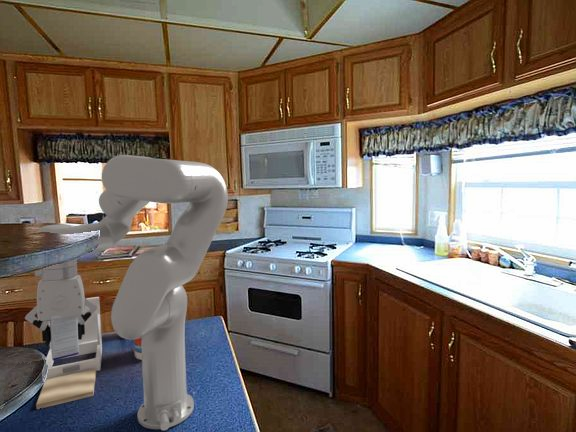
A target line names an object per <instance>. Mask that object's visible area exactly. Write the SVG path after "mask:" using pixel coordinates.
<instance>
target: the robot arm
mask: <svg viewBox="0 0 576 432" xmlns="http://www.w3.org/2000/svg"><path fill="white" fill-rule="evenodd" d="M101 182H102V185H103V187H104V191H103V192H102V193H101V194H100V195H99V198H98V204H99V205H98V206H99V207H100V209H101V211H102V212H103V214H104V215H105V216H104V217H103V218H102V219H101V220H100V221H99V222H94V223H93V222H92V223H85V224H79V225H71V224H66V223H63V224H61V223H60V224H49V225H48V224H47V225H44V226H42V227H41V228H39V232H50V233H58V234H74V233H83V232H91V231H97V230H98V229H99V230H100V241H99V245H98V247H97V248H96V249H95V250H93V251H92V252H90V253H87V254H85V255H82V256H81V257H83V256H87V255H90V254H94V253H100V252H104V251H107V250H109V249H111V248H112V247H115V245H117V244H118V243H119V242H120V241H121V240H123V239H124V237H125V236H126V235H128V233H129V232H130V230H131V228H132V224H133V218H134V217H135V216H136V215H137V214H139V212H141V210H143V208H145V207H146V206H147V205H149V203H158V204H173V205H174V204H183V203H189V204H188V206H187V207H186V209H184V211H183V212H182V213H181V215H180V216H179V217H178V219H177V220H176V222H175V224H174V226H173V230H172V231H171V234H170V236H169V237H168V239H167V240H166V241H165V242H164V243H163V244H161V245H159V246H155V247H151V248H148V249H145V250H144V251H143V252H140V253H139V254H138V255H137V256H136V257H135V258H134V259H133V260H132V261H131V263H130V264H129V266H128V269H127V271H126V273H125V276H124V278H123V279H122V282H121V284H120V287H119V290H118V292H117V294H116V296H115V299H114V301H113V304H112V308H111V312H110V321H111V325H112V328H113V330H114V331H115V333H116V334H117V335H118V336H119V337H120V338H122V339H125V340H133V341H134V339H138V338H141V337H142V342H141V350H142V360H141V367H142V370H141V371H142V386H143V390H142V391H143V403H142V404H141V405H140V407H139V408H138V411H137V416H136V417H137V421H138V424H140V425H141V426H142V427H144V428H146V429H149V430H161V431H164V432H165V431H167V430H168V429H169V428H171V427H172V428H173V427H174V426H177V425H179V424H181V423H182V422H184V421H186V419H189V416H191V414H192V413H193V411H194V408H195V402H194V397H192V395H190V393H189V394H188V393H187V368H186V367H187V366H186V342H185V341H186V338H185V337H186V336H185V334H186V333H185V328H186V325H185V324H186V317H187V311H188V309H187V308H188V296H187V295H188V294H187V291H186V290H185V288H184V286H183V285H185V284H187V283H189V282H190V281H192V280H193V278H195V276H196V275H197V274H198V272H199V269H200V267H201V264H202V262H203V261H204V260H205V259H204V258H205V256H206V254H207V252H208V251H209V248H210V246H211V243H212V241H213V239H214V237H215V235H216V233H217V230H218V228H219V227H220V224H221V223H222V221H223V219H224V216H225V214H226V211H227V207H228V202H229V195H228V194H229V193H228V188H227V184H226V182H225V179H224V177H223V176H222V174H221V173H220V172H219V171H218V170H217V169H216V168H214V167H213V166H212V165H210V164H207V163H204V162H199V161H190V160H189V161H188V160H178V159H166V158H154V157H150V156H144V155H143V156H142V155H130V154H120V155H115V156H113V157H111V158H110V159H109V160H108V161H106V163H105V164H104V166H103V168H102V172H101ZM39 232H38V233H39ZM34 276H35V277H40V278H41V279H40V280H39V281H38V283H37V291H36V306H34V307H33V309H31V311H29V312H28V313H27V314H26V315H25V317H24V320H25V321H27V322H29V323H30V324H32V325H33V326H34V327H37V328H38V329H39V331H41V338H42V339H41V340H42V342H43V343H45V346H50V342H51V331H50V327H49V325H48V323H49V321H50V320H51V316H56V315H59V316H61V317H62V318H71V317H77V320H78V339H79V340H81V339H82V335H85V325H84V323H85V322H86V321H87V319H88V318H89V317H90V316H91V315H92V314H93V313H94V312H95V311H96V310H97V305H95V304H94V303H92V302H91V301H89V300H88V299H86V297H85V289H84V285H83V280H82V276H81V275H80V274H78V263H77V258H76V259H74V260H72V261H69V262H66V263H62V264H56V265H52V266H49V267H46V268H43V269H41V268H40V269H38V270H34ZM85 306H87V307H88V308H90V309H89V311H87V312H86V313H85V314H84V315H83V313H84V311H85ZM36 315H37V317H36Z"/></svg>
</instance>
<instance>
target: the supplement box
mask: <svg viewBox="0 0 576 432" xmlns="http://www.w3.org/2000/svg"><path fill="white" fill-rule="evenodd" d="M50 328H51V352H52V359H53V361H58V360H63V359H67V358H66V357H69V358H71V357H70V356H74V355H77V354H79V347H78V325H77V317H71V318H62V317H61V316H59V315H56V316H51V320H50ZM74 357H75V356H74ZM62 358H63V359H62Z"/></svg>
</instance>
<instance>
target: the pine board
mask: <svg viewBox="0 0 576 432" xmlns="http://www.w3.org/2000/svg"><path fill="white" fill-rule="evenodd" d="M96 376H97V371H96V369H93V370H88V371H83V372H79V373H74V374H69V375H65V376H60V377H55V378H51V379H46V380H45V382H44V383H43V386H42V388H41V390H40V394H39V396H38V399H37V401H36V404H35V407H36V409H37V410H40V408H41V409H44V408H49V407H54V406H57V405H62V404H64V403H65V404H66V403H69V402H72V401H73V402H74V401H77V400H82V399H85V398H89V397H93V396H94V393H95V384H96Z"/></svg>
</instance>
